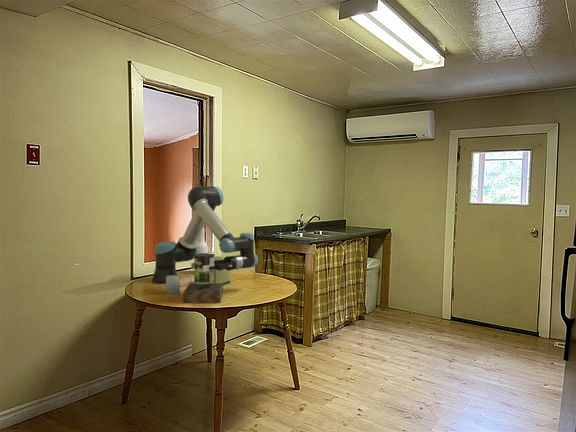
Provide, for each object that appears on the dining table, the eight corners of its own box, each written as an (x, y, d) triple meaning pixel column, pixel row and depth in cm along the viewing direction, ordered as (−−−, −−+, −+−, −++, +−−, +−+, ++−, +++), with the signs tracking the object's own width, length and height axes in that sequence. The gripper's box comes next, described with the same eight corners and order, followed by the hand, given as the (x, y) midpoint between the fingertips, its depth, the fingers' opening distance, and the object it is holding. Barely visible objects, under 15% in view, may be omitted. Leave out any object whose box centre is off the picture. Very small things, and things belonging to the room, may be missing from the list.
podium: (183, 302, 209) (183, 290, 209) (188, 294, 227) (188, 283, 226) (220, 302, 210) (220, 290, 210) (223, 294, 228) (223, 283, 228)
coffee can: (200, 285, 211) (200, 256, 210) (190, 281, 218) (190, 254, 218) (218, 282, 218) (218, 254, 217) (207, 279, 225) (207, 252, 225)
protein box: (230, 282, 257) (231, 257, 257) (215, 287, 243) (216, 260, 243) (216, 281, 262) (216, 255, 261) (200, 285, 248) (201, 259, 247)
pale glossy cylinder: (164, 294, 225) (164, 277, 225) (167, 291, 232) (167, 275, 232) (178, 294, 226) (178, 277, 225) (180, 291, 233) (180, 275, 232)
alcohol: (195, 272, 290) (195, 227, 288) (208, 272, 290) (208, 228, 289) (193, 274, 281) (193, 229, 279) (206, 274, 281) (207, 229, 280)
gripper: (245, 272, 222) (209, 278, 207) (220, 266, 238) (185, 271, 223) (246, 258, 222) (209, 262, 206) (220, 253, 238) (185, 257, 222)
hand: (197, 267), depth 215 cm, fingers closed on coffee can, 10 cm apart
